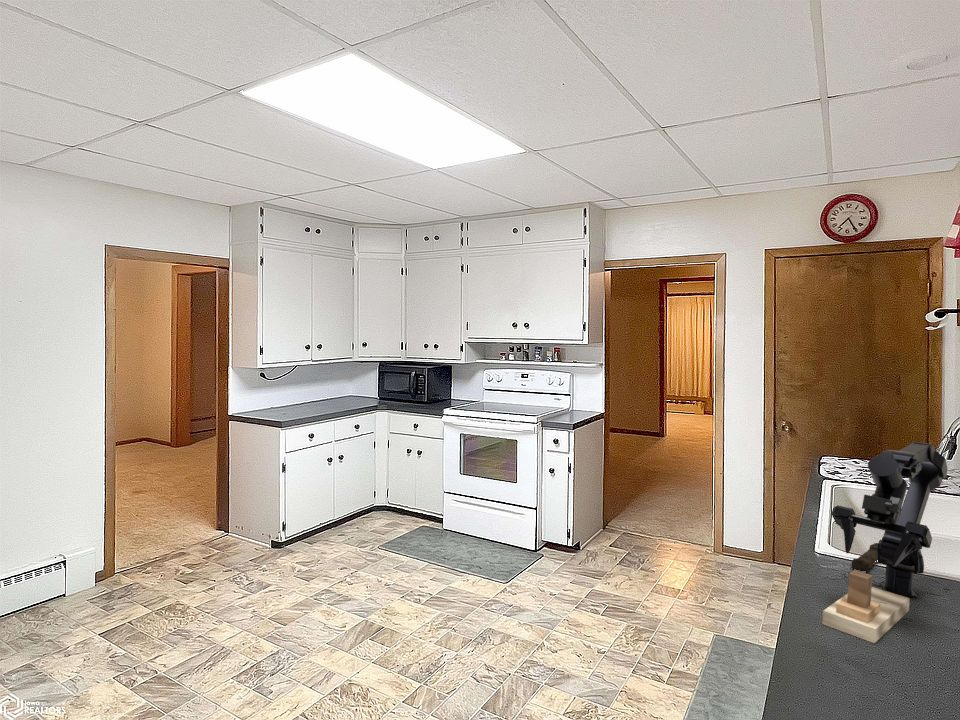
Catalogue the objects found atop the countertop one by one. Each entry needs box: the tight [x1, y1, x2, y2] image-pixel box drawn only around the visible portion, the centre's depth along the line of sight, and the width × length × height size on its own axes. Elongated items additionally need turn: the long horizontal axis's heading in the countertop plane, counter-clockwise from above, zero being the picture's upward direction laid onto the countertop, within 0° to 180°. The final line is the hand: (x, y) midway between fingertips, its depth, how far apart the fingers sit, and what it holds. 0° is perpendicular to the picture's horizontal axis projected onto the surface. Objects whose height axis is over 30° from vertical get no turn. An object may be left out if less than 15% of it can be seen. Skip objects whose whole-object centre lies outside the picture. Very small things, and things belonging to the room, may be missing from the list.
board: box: [821, 586, 911, 644], centre depth 137 cm, size 24×10×3 cm, turn 131°
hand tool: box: [851, 542, 879, 573], centre depth 169 cm, size 19×4×5 cm, turn 130°
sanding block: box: [836, 569, 880, 623], centre depth 132 cm, size 8×6×8 cm
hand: (869, 558), depth 135 cm, fingers open, 9 cm apart
